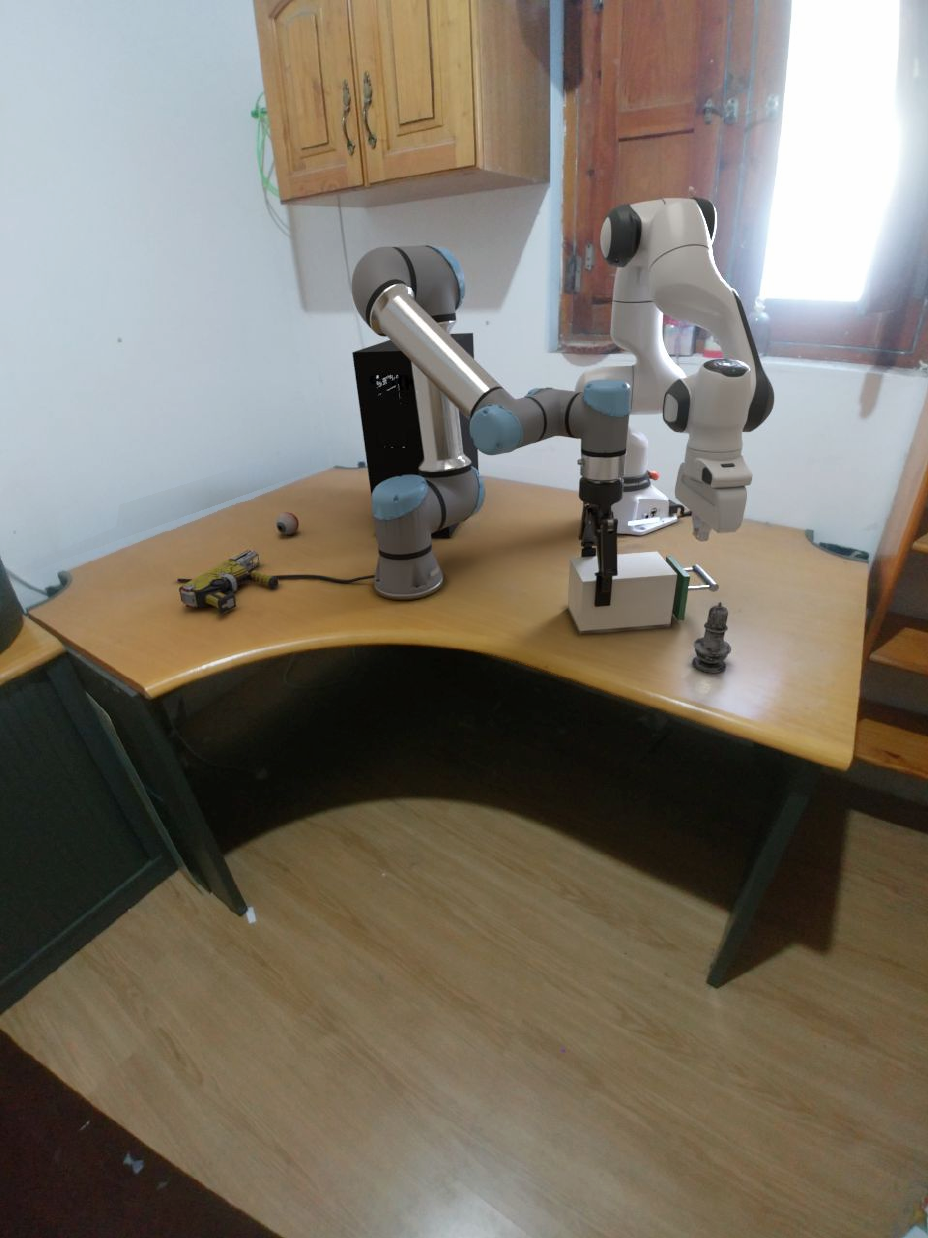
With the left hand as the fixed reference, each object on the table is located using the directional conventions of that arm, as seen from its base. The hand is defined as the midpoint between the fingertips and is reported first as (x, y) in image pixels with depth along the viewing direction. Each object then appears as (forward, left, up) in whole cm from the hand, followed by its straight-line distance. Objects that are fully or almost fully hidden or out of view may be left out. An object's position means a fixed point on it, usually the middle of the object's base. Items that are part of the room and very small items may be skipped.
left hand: (594, 591), depth 114 cm
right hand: (+17, +9, +9) cm, 21 cm away
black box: (-58, +46, -6) cm, 74 cm away
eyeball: (-88, +19, -6) cm, 90 cm away
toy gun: (-77, -12, -6) cm, 78 cm away
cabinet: (+4, +2, -6) cm, 8 cm away
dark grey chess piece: (+22, -9, -6) cm, 24 cm away
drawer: (+10, +5, -5) cm, 12 cm away
